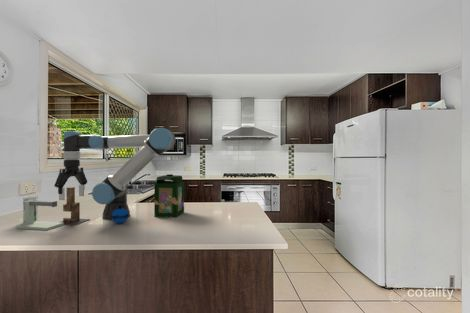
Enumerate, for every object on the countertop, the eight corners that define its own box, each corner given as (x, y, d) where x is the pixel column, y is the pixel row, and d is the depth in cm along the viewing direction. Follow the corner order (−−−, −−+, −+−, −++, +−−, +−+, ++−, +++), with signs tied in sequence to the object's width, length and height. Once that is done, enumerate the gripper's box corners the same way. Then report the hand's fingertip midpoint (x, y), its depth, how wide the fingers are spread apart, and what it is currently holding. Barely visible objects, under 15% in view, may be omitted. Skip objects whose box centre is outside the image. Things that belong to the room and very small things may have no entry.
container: (151, 217, 156) (151, 175, 156) (163, 211, 174) (163, 173, 174) (175, 218, 154) (175, 175, 154) (184, 211, 172) (185, 173, 172)
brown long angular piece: (79, 220, 147) (79, 186, 147) (69, 223, 140) (69, 188, 140) (73, 220, 148) (73, 186, 148) (63, 223, 141) (63, 187, 141)
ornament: (121, 226, 137) (121, 207, 137) (107, 224, 140) (107, 206, 140) (132, 222, 146) (132, 204, 146) (119, 220, 148) (119, 203, 148)
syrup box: (22, 224, 140) (22, 197, 140) (25, 221, 145) (25, 195, 145) (36, 223, 143) (35, 196, 143) (38, 220, 148) (38, 194, 148)
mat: (90, 220, 150) (90, 219, 150) (73, 225, 138) (73, 224, 138) (71, 218, 152) (71, 218, 152) (54, 224, 140) (54, 223, 140)
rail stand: (63, 225, 139) (63, 199, 139) (47, 230, 129) (46, 203, 129) (35, 223, 142) (35, 198, 142) (16, 228, 132) (16, 202, 132)
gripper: (83, 158, 157) (83, 194, 157) (45, 159, 132) (46, 201, 133) (94, 158, 156) (94, 194, 156) (58, 159, 131) (58, 202, 131)
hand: (72, 198), depth 144 cm, fingers open, 13 cm apart
